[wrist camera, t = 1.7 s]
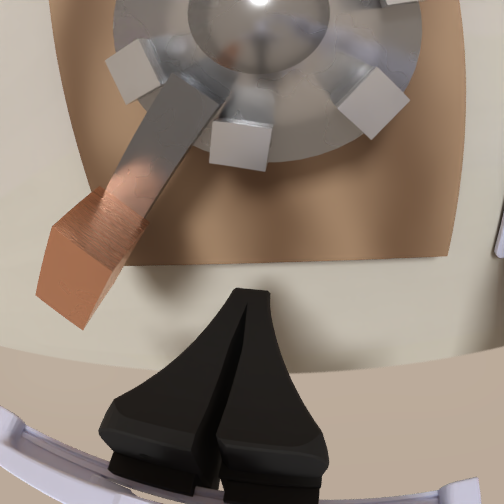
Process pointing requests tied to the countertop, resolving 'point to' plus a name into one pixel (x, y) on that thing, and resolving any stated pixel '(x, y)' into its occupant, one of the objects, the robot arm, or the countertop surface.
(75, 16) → the base plate
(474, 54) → the countertop surface
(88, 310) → the valve handle
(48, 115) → the countertop surface
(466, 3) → the countertop surface
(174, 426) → the robot arm
